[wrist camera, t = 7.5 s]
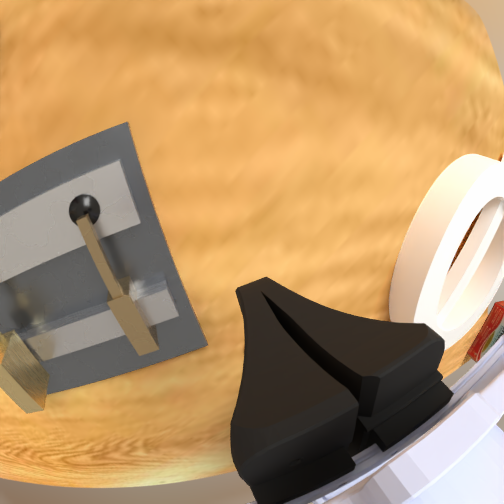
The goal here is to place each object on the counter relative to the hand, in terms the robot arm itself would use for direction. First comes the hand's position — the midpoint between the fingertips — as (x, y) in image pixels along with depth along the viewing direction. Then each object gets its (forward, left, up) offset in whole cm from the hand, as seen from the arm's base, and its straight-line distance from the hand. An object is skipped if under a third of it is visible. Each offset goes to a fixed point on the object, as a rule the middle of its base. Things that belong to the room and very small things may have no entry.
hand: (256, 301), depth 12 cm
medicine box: (-46, -56, -10) cm, 74 cm away
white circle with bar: (-15, -31, -10) cm, 36 cm away
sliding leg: (-1, +17, -8) cm, 19 cm away
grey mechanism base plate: (-1, +12, -10) cm, 16 cm away
